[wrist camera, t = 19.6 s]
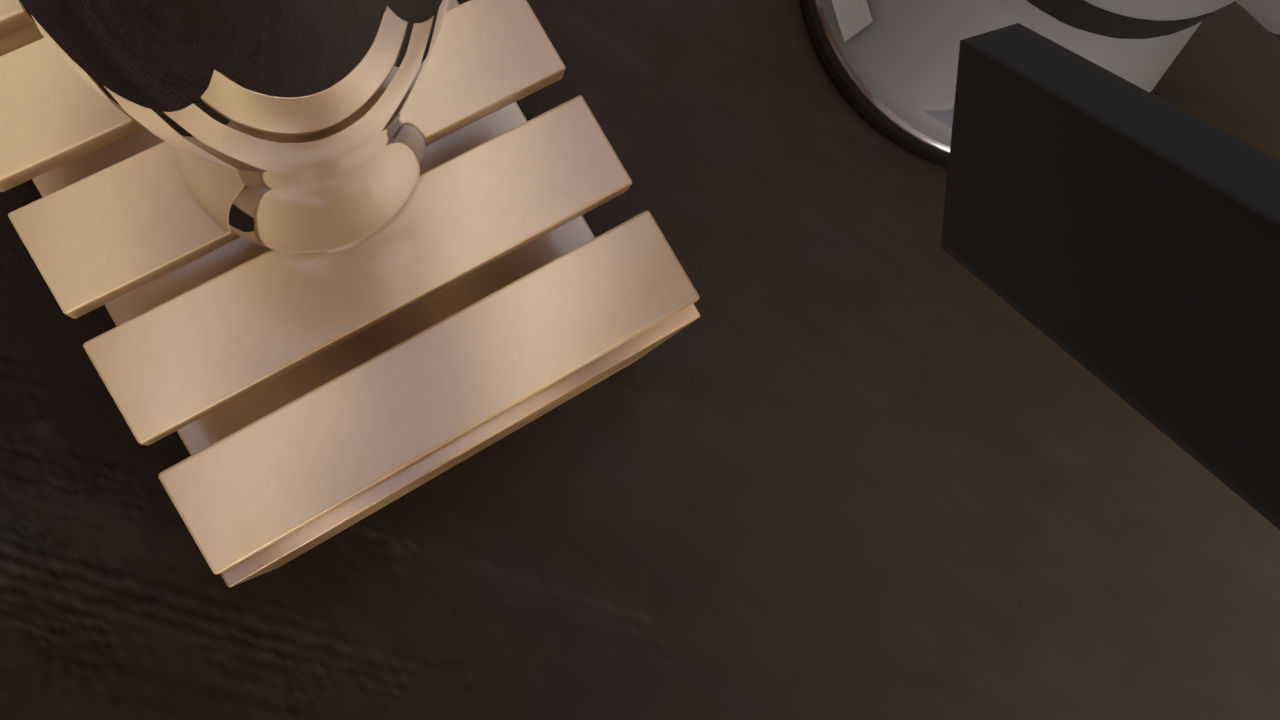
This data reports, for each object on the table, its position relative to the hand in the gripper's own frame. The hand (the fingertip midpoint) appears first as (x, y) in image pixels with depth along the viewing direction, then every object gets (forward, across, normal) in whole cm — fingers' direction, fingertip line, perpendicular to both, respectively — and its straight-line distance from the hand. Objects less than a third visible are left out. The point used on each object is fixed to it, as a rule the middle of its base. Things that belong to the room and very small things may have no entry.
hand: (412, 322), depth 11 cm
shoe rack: (+25, 0, -13) cm, 28 cm away
